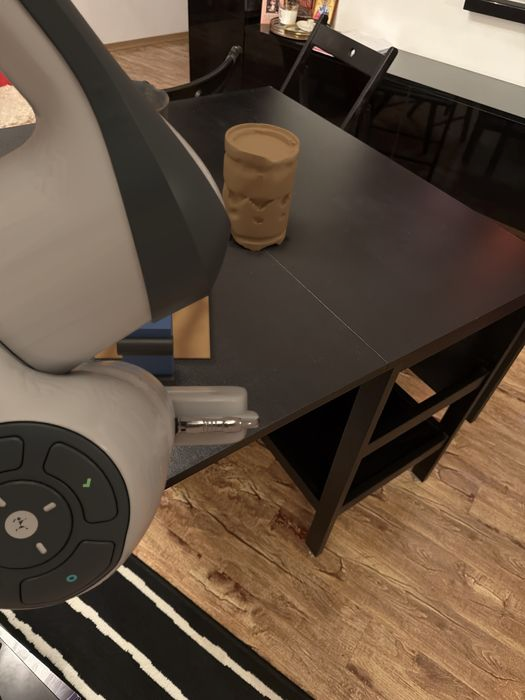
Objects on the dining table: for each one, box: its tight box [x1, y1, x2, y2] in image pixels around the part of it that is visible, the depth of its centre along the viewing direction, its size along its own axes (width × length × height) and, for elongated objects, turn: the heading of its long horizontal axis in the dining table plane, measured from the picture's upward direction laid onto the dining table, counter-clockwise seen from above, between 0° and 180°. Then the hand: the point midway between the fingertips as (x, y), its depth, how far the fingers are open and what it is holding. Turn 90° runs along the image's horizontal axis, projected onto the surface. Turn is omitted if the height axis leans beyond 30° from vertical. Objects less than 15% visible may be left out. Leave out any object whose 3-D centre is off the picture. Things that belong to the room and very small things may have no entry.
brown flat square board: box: [94, 296, 211, 360], centre depth 73 cm, size 16×16×1 cm
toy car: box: [116, 314, 176, 386], centre depth 61 cm, size 6×6×12 cm
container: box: [221, 122, 301, 252], centre depth 86 cm, size 13×13×18 cm
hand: (133, 399), depth 45 cm, fingers closed
